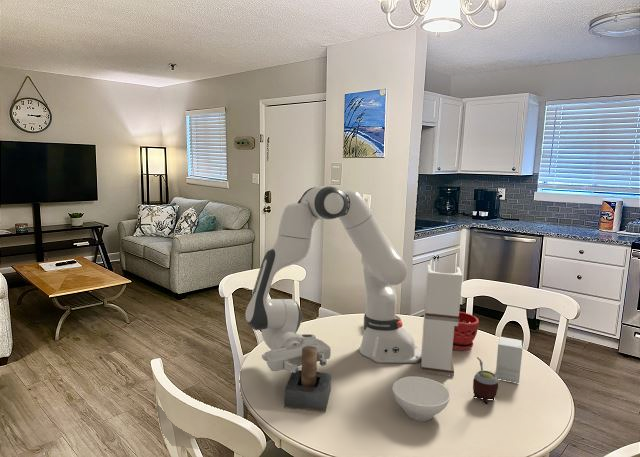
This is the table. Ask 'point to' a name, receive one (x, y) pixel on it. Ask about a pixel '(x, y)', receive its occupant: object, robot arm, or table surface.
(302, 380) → the walnut pin
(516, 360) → the supplement box
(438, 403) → the bowl
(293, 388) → the socket block
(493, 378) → the mate gourd
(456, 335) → the plant pot
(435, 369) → the striped white pillar
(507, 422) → the table surface
